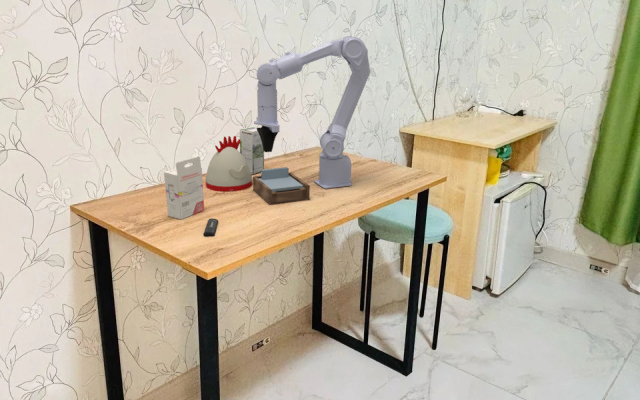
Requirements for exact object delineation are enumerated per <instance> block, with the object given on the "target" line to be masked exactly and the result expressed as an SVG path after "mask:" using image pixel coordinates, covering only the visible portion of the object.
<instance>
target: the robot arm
mask: <svg viewBox="0 0 640 400" xmlns="http://www.w3.org/2000/svg"><path fill="white" fill-rule="evenodd" d="M368 51H369V50H368V48H367V47H366V45H365V43H364V41H363V40H362V39H361V38H359V37H357V36H352V35H347V36H344V37H343V38H342V37H340V38H337V39H332V40H330V41H327V42H325V43H323V44H320V45H318V46H316V47H314V48H310V49H309V50H307V51H304V52H302V53H300V54H299V53H296V52H295V51H293V52H290V51H287V52H285V53H284V55H282V56H280V57H278V58H276V59H275V58H271V59H269V62H264V63H262V64H260V65H259V67H258V68H257V70H256V78H257V80H258V82H257V86H256V87H257V90H256V92H257V93H256V94H257V95H256V98H257V100H256V101H257V117H256V120H255V121H253V124H254V125H259V126H260V127H258V128H257V131H258V133H259V135H260V138H261V141H262V146H263V150H264V153H272V152H273V149H274V144H275V141H276V138H277V135H278V133H280V125H279V120H278V90H277V80H278V79H279V80H283V79H285V78H287V77H290V76H292V75H296V74H298V73H300V72H302V70H303V67H304V66H306V65H307V64H310V63H313V62H316V61H318V60H321V59H324V58H326V57H329V56H333V57H339V58H341V57H343V59H344V60H345V61H346V62H347V65H348V67H349V69H350V72H351V74H350V76H349V79H348V82H347V84H346V86H345V89H344V91H343V94H342V96H341V98H340V100H339V101H340V102H339V104H338V107H337V109H336V111H335V113H334V116H333V118H332V121H331V123H330V124H329V126H328V127H327V130H326V131H325V132H324V133H323V134H322V135H321V137H320V139H319V144H320V147H321V148H322V150H321V152H320V153H319V155H318V156H319V158H318V159H319V163H318V164H319V165H318V179H315V180H313V182H314V183H315V184H317V185H318V186H320V187H321V188H322V189H326V190H327V189H334V188H343V187H350V186H352V184H353V183H351V181H352V161H351V158H350V156H349V155H347V154H344V150H345V145H344V143H345V139H346V137H347V131H348V127H349V124H350V122H351V120H352V118H353V116H354V112H355V110H356V108H357V105H358V103H359V101H360V98H361V96H362V93H363V91H364V88H365V86H366V84H367V81H368V79H369V76H370V73H371V67H370V62H369V52H368Z"/></svg>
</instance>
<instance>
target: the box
mask: <svg viewBox="0 0 640 400" xmlns="http://www.w3.org/2000/svg"><path fill="white" fill-rule="evenodd" d="M289 176H290V177H292V178H293V179H295V180H296V181H297V182H299V183H300V184H302V185H303V188H301V189H293V190H284V191H276V192H272V190H271V189H270V188H269V187H268V186H266V185H265V184H264V183H263V182H262V181H260V180H259V178H261V175H256V176H254V175H253V176H252V190H253V192H254V193H256V194H257V196H259V197H260V198H261V199H262V200H263V201H264V202H265V203H267V204H268V205H269V206H270V205H271V206H272V205H279V204H286V203H287V204H288V203H295V202H303V201H308V200H310V197H311V196H310V192H311V191H310V190H311V189H310V188H311V186H310V185H309V184H308V183H307V182H306V181H304V180H303V179H301V178H299V177H298V176H297V175H295V174H294V173H292V172H289Z"/></svg>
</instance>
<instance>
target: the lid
mask: <svg viewBox="0 0 640 400" xmlns="http://www.w3.org/2000/svg"><path fill="white" fill-rule="evenodd" d="M289 173H290V172H289V167H288V166H287V167H286V166H283V167H275V168H274V167H273V168H264V169H263V170H261V172H260V174H261V175H260V176H261V178H259V180H260V181H262V182H263V183H264V184H265V185H266V186H268V187H269V188H270V189H271V190H272V192H276V191H284V190H293V189H301V188H303V185H302V184H300V183H299V182H297V181H296V180H295V179H293V178H292V177H290V176H289Z"/></svg>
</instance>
